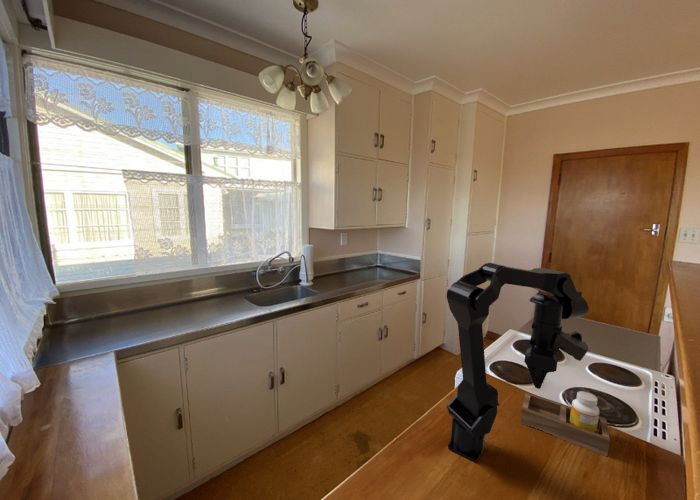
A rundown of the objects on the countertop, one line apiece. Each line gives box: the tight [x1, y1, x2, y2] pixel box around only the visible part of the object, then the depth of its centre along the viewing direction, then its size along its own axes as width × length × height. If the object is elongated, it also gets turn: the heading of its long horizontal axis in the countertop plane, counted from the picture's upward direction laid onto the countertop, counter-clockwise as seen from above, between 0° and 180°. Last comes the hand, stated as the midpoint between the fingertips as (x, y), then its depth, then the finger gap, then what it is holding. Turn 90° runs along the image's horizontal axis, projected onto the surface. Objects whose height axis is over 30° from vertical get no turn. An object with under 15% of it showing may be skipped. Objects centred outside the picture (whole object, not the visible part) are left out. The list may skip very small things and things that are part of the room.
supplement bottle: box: [569, 390, 600, 433], centre depth 75 cm, size 5×5×10 cm
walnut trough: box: [519, 391, 611, 457], centre depth 78 cm, size 9×18×4 cm, turn 54°
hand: (539, 379), depth 77 cm, fingers open, 9 cm apart
